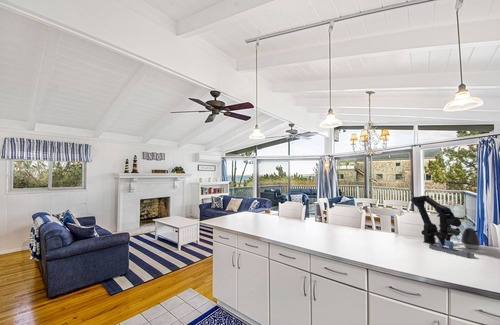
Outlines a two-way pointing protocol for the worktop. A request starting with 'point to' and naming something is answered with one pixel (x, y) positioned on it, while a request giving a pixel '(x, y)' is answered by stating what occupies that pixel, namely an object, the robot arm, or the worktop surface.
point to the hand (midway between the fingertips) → (445, 244)
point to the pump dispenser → (470, 238)
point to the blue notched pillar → (446, 243)
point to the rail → (452, 251)
